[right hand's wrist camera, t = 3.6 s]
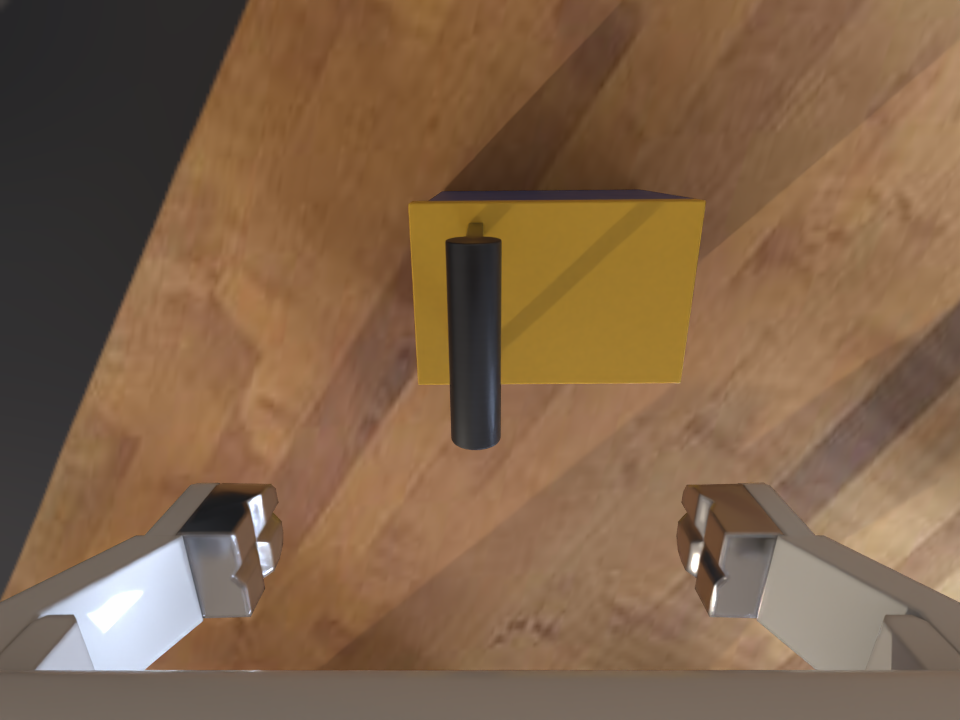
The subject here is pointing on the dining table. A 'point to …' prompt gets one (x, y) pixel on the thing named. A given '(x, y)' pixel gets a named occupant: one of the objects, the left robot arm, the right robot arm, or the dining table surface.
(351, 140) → the dining table surface
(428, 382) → the lid
